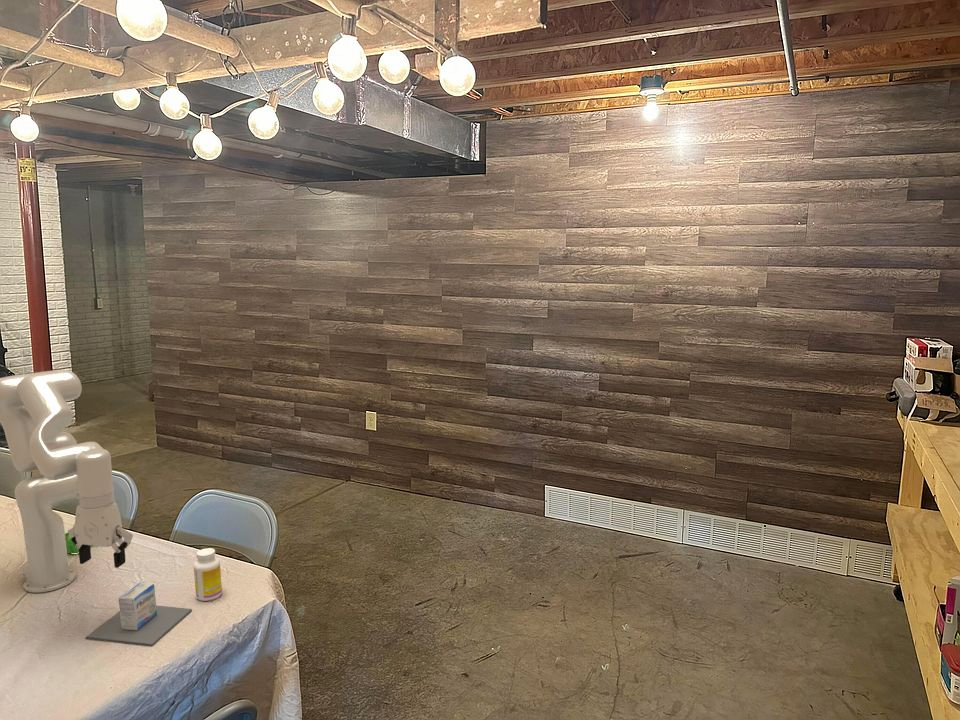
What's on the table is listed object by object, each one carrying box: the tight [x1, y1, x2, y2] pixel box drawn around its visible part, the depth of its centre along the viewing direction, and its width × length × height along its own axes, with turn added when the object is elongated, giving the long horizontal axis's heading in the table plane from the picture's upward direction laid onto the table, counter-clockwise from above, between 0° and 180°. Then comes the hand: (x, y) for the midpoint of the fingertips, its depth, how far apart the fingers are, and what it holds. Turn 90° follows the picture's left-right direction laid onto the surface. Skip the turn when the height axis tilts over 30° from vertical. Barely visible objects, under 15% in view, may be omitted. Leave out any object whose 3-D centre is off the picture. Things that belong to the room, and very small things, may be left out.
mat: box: [85, 604, 193, 647], centre depth 169 cm, size 18×16×1 cm
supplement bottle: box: [193, 547, 223, 602], centre depth 182 cm, size 7×7×13 cm
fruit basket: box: [65, 522, 79, 554], centre depth 211 cm, size 11×9×11 cm
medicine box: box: [118, 582, 157, 631], centre depth 168 cm, size 8×4×9 cm, turn 170°
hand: (102, 563), depth 168 cm, fingers open, 9 cm apart
